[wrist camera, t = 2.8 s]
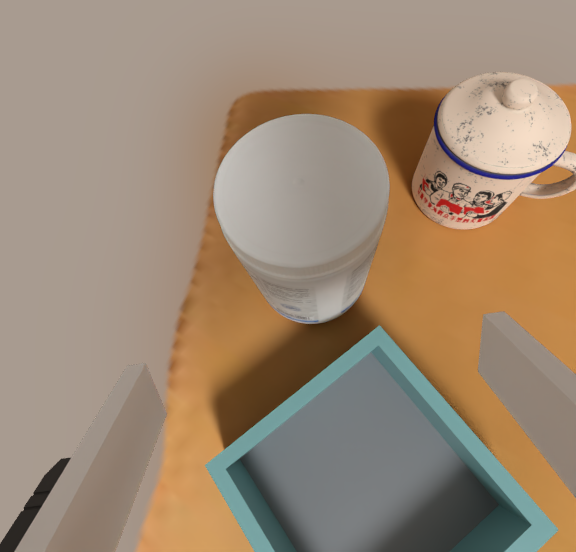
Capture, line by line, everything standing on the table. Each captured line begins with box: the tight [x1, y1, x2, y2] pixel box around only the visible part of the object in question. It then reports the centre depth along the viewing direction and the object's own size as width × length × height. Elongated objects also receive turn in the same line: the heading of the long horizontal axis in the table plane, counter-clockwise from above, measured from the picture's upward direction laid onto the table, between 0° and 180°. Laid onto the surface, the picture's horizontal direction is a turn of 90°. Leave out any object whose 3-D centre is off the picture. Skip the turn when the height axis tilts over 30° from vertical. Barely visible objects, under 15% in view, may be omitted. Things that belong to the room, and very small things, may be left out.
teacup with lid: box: [412, 72, 576, 229], centre depth 27 cm, size 12×9×12 cm
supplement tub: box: [213, 114, 390, 324], centre depth 25 cm, size 10×10×15 cm
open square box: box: [205, 325, 558, 552], centre depth 24 cm, size 15×15×5 cm
